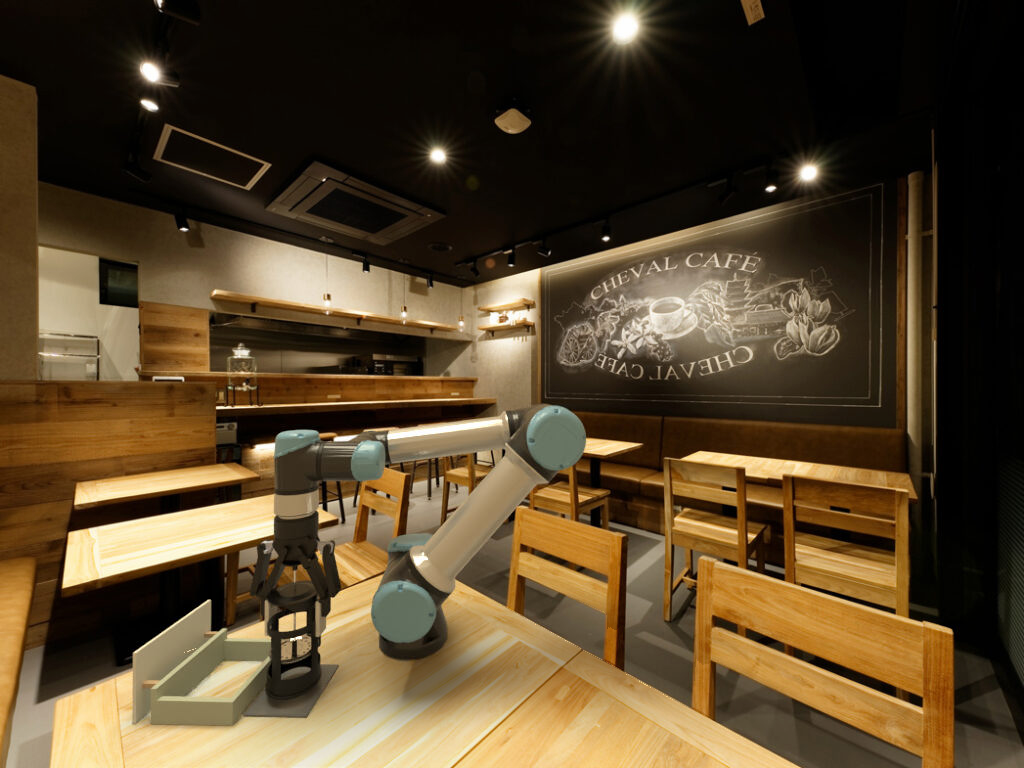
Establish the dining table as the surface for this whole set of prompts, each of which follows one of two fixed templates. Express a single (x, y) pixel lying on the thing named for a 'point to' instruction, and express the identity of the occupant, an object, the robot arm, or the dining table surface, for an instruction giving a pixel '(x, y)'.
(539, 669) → the dining table surface
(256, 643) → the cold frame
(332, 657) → the dining table surface
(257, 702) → the plate
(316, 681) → the french press
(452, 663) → the dining table surface
